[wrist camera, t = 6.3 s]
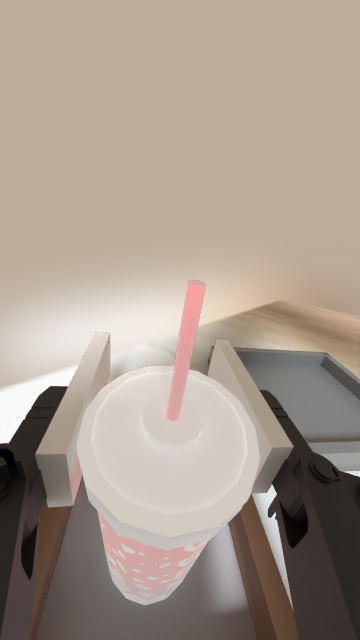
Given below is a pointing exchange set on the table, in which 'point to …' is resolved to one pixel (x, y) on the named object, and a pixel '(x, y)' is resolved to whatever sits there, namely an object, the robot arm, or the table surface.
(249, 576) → the holder
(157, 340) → the table surface
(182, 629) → the table surface
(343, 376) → the tray
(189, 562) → the beverage cup
